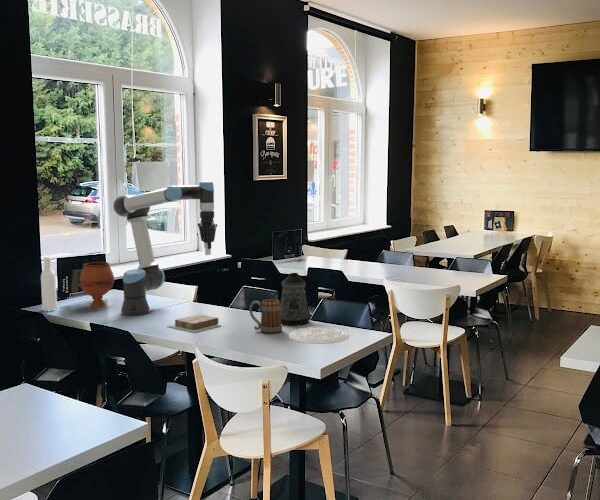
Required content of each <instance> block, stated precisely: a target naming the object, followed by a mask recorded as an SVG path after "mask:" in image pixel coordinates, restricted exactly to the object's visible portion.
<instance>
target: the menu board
mask: <svg viewBox="0 0 600 500" xmlns="http://www.w3.org/2000/svg"><path fill="white" fill-rule="evenodd" d="M174 324H175V326H179V327H184V328H188V329H193V330H196V329H200V328H204V327H208V326H212V325H216V324H218V325H219V317H215V316H210V315H205V314H194V315H189V316H185V317H181V318H177V319H174Z"/></svg>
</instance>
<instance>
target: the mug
mask: <svg viewBox="0 0 600 500" xmlns="http://www.w3.org/2000/svg"><path fill="white" fill-rule="evenodd" d="M255 304H257V305H259V308H258V309H257V311H258V312H260V313H261V318H260V321H259V319H258V318H256V317H255V315H254V313H253V305H255ZM280 304H281V301H280V300H279V299H273V298H271V299H270V298H269V299H263V300H262V302H261V301H258V300H253V301H252V302H251V303H250V305H249V307H248V308H249V314H250V317H251V318H252V320H253V321H254V322H255V323H256V324H257V325H254V327H253V328H254V329H255V331H260V333H262V334H265V335H277V334H280V333H281V332H282V331H283V327H282V326H283V325H281V313H280Z"/></svg>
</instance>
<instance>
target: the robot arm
mask: <svg viewBox="0 0 600 500" xmlns="http://www.w3.org/2000/svg"><path fill="white" fill-rule="evenodd" d="M214 186H215V185H214V182H213V181H199V184H198V185H196V184H195V185H194V184H191V185H190V184H183V185H169V186H167V187H166V188H160V189H156V190H152V191H149V192H144V193H140V194H131V195H130V194H127V195H121V196H119V197H117V198H115V200H114V201H113V211H114V212H115V213H116V214H117V215H118V216H120V217H124V218H126V221H127V222H129V224H130V225H131V231H132V235H133V240H134V245H135V250H136V256H137V258H138V264H139V265H138V266H137V268H134V269H128V270H126V271H125V272H124V273H123V278H122V284H123V302H122V305H121V309H120V314H122V315H123V316H141V315H147V314H150V312H151V311H150V306H149V303H148V300H147V292H149V291H152V290H157V289H160V288H161V287H162V286H163V284H164V283H165V280H166V277H165V272H164V270H163V269H162V268H160V267H159V263H157V262H155V261H156V260H155V256H154V252H153V248H152V243H151V237H150V232H149V228H148V223H147V220H148V218H149V213H150V211H151V207H155V206H157V205H158V206H159V205H163V204H167V203H170V202H176V201H185V200H199V211H200V212H199V218H200V222H199V223H197V226H198V229H199V230H198V231H199V235H200V240H201V242H203V245H204V247H203V248H204V255H205V256H211V255H212V253H211V252H212V251H211V249H212V242H213V243H214V242H215V237H216V231H217V227H218V224H217V223H215V222H214V221H215V220H214V218H215V211H214V210H215V197H214V196H215V193H214V192H215V189H214Z"/></svg>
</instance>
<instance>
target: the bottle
mask: <svg viewBox="0 0 600 500" xmlns="http://www.w3.org/2000/svg"><path fill="white" fill-rule="evenodd" d="M43 267H44V268H43V270H42V272H41V274H40V284H41V285H40V286H41V288H40V289H41V303H42V305H41V309H42V311H43V310H45V311H44V312H47V311H48V310H53V309H57V310H58V298H57V297H58V294H57V278H56V277H57V276H56V272H55V271H54V269H52V258H51V256H44V257H43ZM48 312H49V311H48Z"/></svg>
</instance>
